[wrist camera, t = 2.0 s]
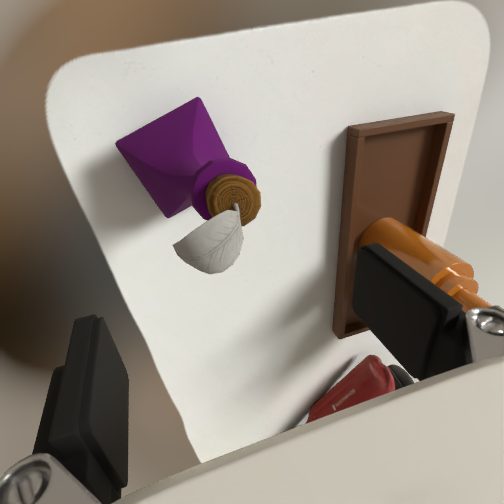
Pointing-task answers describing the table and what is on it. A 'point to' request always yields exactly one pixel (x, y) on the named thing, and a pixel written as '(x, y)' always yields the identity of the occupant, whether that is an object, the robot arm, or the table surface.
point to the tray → (386, 191)
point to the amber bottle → (428, 261)
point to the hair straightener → (361, 387)
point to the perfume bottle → (195, 182)
